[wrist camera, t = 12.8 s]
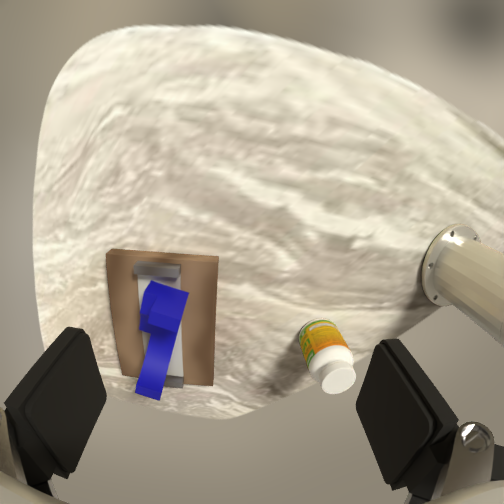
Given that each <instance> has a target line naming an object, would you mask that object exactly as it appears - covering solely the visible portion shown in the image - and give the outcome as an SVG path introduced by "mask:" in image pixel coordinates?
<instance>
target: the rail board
mask: <svg viewBox="0 0 504 504" xmlns="http://www.w3.org/2000/svg"><path fill="white" fill-rule="evenodd" d="M218 261H219V257H218V256H204V255H190V254H176V253H163V252H149V251H136V250H122V249H111V250H110V251H109V252H107V253H106V265H107V277H108V287H109V296H110V305H111V312H112V319H113V326H114V332H115V339H116V344H117V350H118V355H119V360H120V365H121V370H122V375H125V376H131V377H137V378H139V376H140V373H141V369H142V366H143V362H144V359H145V355H146V352H147V348H148V344H149V339H150V335H151V334H150V333H147V332H144V331H141V330H139V326H140V309H141V304H142V299H143V294H144V291H145V289H146V288H147V286H148V285H149V283H150V281H151V280H152V281H155V282H158V283H161V284H164V285H167V286H170V287H173V288H176V289H179V290H182V291H185V292H188V293H189V295H188V298H187V302H186V305H185V309H184V312H183V316H182V319H181V323H180V326H179V330H178V333H177V337H176V341H175V344H174V348H173V352H172V356H171V359H170V363H169V367H168V371H167V374H166V378H165V382H164V386H166V387H174V388H183V384H193V385H205V386H213V380H214V349H215V322H216V299H217V279H218Z"/></svg>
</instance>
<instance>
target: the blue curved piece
mask: <svg viewBox="0 0 504 504" xmlns="http://www.w3.org/2000/svg"><path fill="white" fill-rule="evenodd" d="M188 295H189V293H188V292H185V291H182V290H179V289H176V288H173V287H170V286H167V285H164V284H161V283H158V282H155V281H152V280H151V281H150V283H149V285H148V286H147V288H146V289H145V291H144V294H143V299H142V304H141V309H140V326H139V330H141V331H144V332H147V333H150V334H151V335H150V339H149V344H148V348H147V352H146V355H145V359H144V362H143V366H142V369H141V373H140V376H139V379H138V382H137V384H136V391H135V393H137V394H140V395H143V396H146V397H149V398H152V399H156V400H159V401H160V397H161V393H162V390H163V386H164V382H165V378H166V374H167V371H168V367H169V363H170V359H171V356H172V352H173V348H174V344H175V341H176V337H177V333H178V330H179V326H180V323H181V319H182V316H183V312H184V309H185V305H186V302H187V298H188Z"/></svg>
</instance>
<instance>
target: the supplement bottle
mask: <svg viewBox="0 0 504 504" xmlns="http://www.w3.org/2000/svg"><path fill="white" fill-rule="evenodd" d="M299 343H300V346H301V349H302V352H303V355H304V358H305V361H306V364H307V367H308V370H309V373H310V375H311V377H312V378H313V379H314V380H315V381H317V382H319V383H320V385H321V387H322V389H323V391H325V392H326V393H329V394H338V393H341V392H344V391H345V390H347V389H349V388H350V387H351V386H352V385H353V384H354V382H355V379H356V374H355V371H354V369H353V363H354V359H353V355H352V353H351V351H350V349H349V348H348V346H347V344H346V342H345V341H344V339H343V337H342V335H341V334H340V332H339V330H338V328H337V327H336V325H335V324H334V323H333V322H332V321H331V320H328V319H324V318H320V319H315V320H312V321H310V322H308V323H307V324H306V325H305V326H304V327H303V328H302V329H301V331H300V334H299Z"/></svg>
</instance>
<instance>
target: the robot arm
mask: <svg viewBox="0 0 504 504" xmlns="http://www.w3.org/2000/svg"><path fill="white" fill-rule="evenodd" d="M422 286H423V290H424V293H425V295H426V296H427V298H428V299H429V300H430V301H432V302H433V303H434V304H436V305H439V306H449V305H454V306H455V307H456V308H457V309H459V310H460V311H461V312H462V313H464V314H465V315H466V316H467V317H469V318H470V319H471V320H472V321H474V322H475V323H476V324H477V325H478V326H480V327H481V328H482V329H483V330H484V331H485V332H487V333H488V334H489V335H490V336H492V337H493V338H494V339H495V340H496V341H497V342H498V343H500V344H501V345H502V346H503V347H504V254H503V253H501V252H499V251H497V250H495V249H492V248H490V247H488V246H486V245H484V244H482V243H481V240H480V238H479V236H478V234H477V233H476V231H475V230H474V229H472V228H471V227H469V226H467V225H464V224H454V225H452V226H449V227H447V228H446V229H444V230H443V231H442V232H441V233H440V234H439V235H438V236H437V237H436V238H435V240H434V241H433V243H432V244H431V246H430V248H429V250H428V252H427V254H426V257H425V260H424V263H423V268H422ZM106 397H107V395H106V390H105V387H104V384H103V381H102V378H101V375H100V372H99V369H98V366H97V362H96V359H95V355H94V352H93V348H92V345H91V341H90V337H89V335H88V334H86V333H85V331H84V330H83V329H80V328H74V327H67V328H65V330H64V331H63V332H62V333H61V334H60V335H59V336H58V337H57V338H56V340H55V341H54V342H53V343H52V344H51V345H50V346H49V348H48V349H47V350H46V351H45V352H44V354H43V355H42V356H41V357H40V358H39V359H38V361H37V362H36V363H35V364H34V365H33V367H32V368H31V369H30V370H29V371H28V373H27V374H26V375H25V377H24V378H23V379H22V380H21V381H20V383H19V384H18V385H17V387H16V388H15V389H14V390H13V392H12V393H11V394H10V396H9V397H8V398H7V400H6V401H5V402H4V404H5V405H6V407H7V408H6V410H5V411H4V410H3V409H2V408H1V407H0V504H68V503H66V502H63V501H61V500H59V498H58V495H57V493H56V490H55V488H54V485H53V483H52V479H51V477H52V475H53V473H54V474H56V475H58V476H61V477H63V478H66V479H68V477H69V474H70V473H73V472H74V471H75V469H76V467H77V465H78V462H79V460H80V458H81V455H82V453H83V451H84V448H85V446H86V444H87V441H88V439H89V437H90V435H91V432H92V430H93V428H94V426H95V423H96V421H97V419H98V417H99V415H100V413H101V410H102V408H103V406H104V404H105V402H106ZM356 410H357V413H358V416H359V418H360V420H361V423H362V425H363V428H364V430H365V433H366V435H367V438H368V440H369V443H370V445H371V448H372V450H373V453H374V455H375V458H376V460H377V463H378V466H379V468H380V471H381V473H382V476H383V479H384V481H385V483H386V484H390V486H391V488H392V490H396V489H400V488H402V487H406V486H407V488H408V491H409V493H408V495H407V498H406V500H405V502H404V504H504V447H503V446H499V445H496V444H494V443H495V442H494V436H493V434H492V432H491V430H490V429H489V428H488V427H487V426H485V425H484V424H482V423H479V422H474V421H471V422H466V423H464V424H462V425H461V426H460V427H459V426H458V425H457V422H458V418H457V417H456V415H455V414H454V412H453V411H452V409H451V408H450V407H449V405H448V404H447V402H446V401H445V399H444V398H443V397H442V395H441V394H440V393H439V391H438V390H437V389H436V387H435V386H434V384H433V383H432V382H431V380H430V379H429V378H428V376H427V375H426V374H425V373H424V371H423V370H422V368H421V367H420V366H419V364H418V363H417V362H416V360H415V359H414V358H413V356H412V355H411V354H410V352H409V351H408V350H407V349H406V347H405V346H404V345H403V344H402V342H401V341H400V340H399V339H386V340H382V341H381V342H380V343H379V344H378V345H376V346H375V349H374V352H373V355H372V358H371V361H370V364H369V367H368V370H367V373H366V376H365V379H364V382H363V385H362V387H361V390H360V393H359V396H358V398H357V401H356Z"/></svg>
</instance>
